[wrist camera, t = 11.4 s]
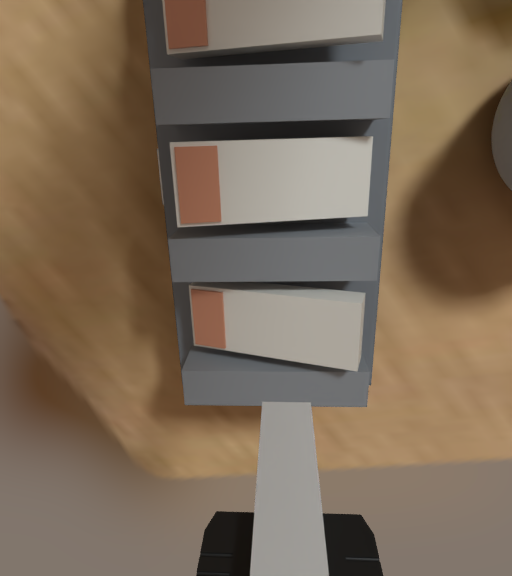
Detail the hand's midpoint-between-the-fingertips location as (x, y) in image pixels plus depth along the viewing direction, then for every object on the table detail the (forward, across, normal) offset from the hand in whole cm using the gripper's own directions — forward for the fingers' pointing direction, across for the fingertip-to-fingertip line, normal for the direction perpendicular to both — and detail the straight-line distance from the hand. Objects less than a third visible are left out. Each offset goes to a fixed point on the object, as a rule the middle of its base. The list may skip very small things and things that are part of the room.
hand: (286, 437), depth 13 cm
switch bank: (+19, -1, +6) cm, 20 cm away
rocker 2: (+12, -1, +7) cm, 13 cm away
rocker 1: (+12, -1, +15) cm, 19 cm away
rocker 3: (+11, -1, -1) cm, 12 cm away
